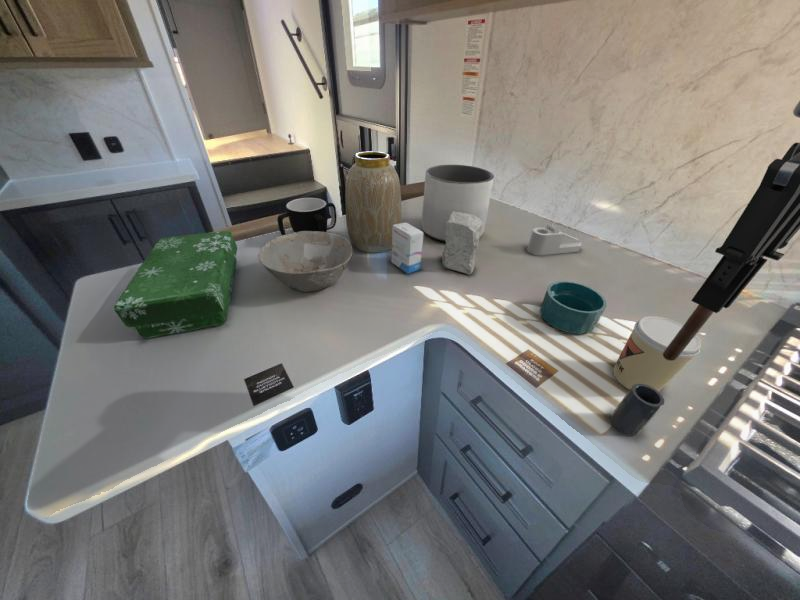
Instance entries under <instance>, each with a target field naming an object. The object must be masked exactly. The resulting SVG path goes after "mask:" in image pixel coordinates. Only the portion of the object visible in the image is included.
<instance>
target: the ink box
mask: <svg viewBox="0 0 800 600" xmlns="http://www.w3.org/2000/svg"><path fill="white" fill-rule="evenodd" d="M423 244H424V231H423V230H420V229H419V228H417V227H416V226H413V225H412V224H410V223H408V222H401V223H400V224H395V225H393V228H392V248H391V263H392V264H393V265H395V266H396V267H398V268H399V269H400V270H402V271H403V272H404V273H406V275H409V274H412V273H415V272H417V271H420V270H421V266H422V256H423V255H422V254H423Z"/></svg>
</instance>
